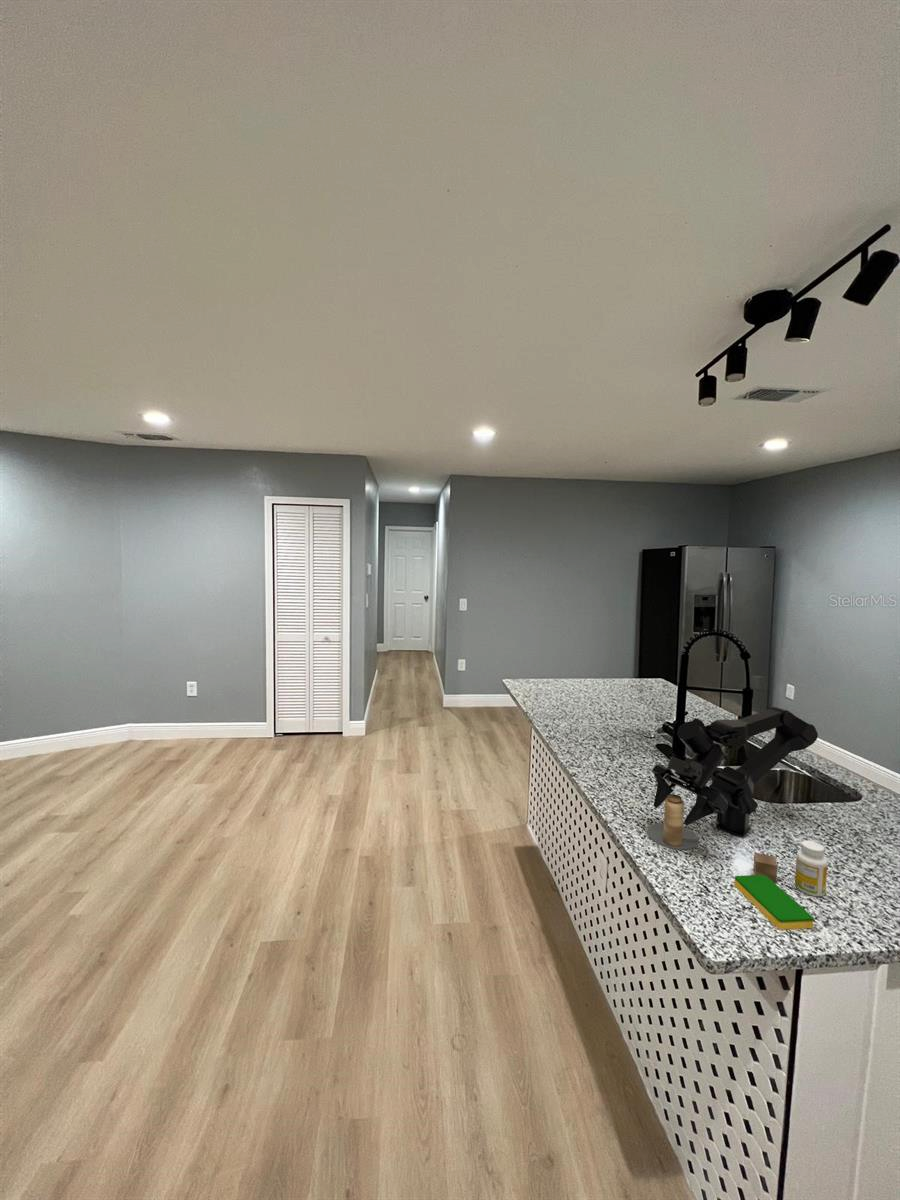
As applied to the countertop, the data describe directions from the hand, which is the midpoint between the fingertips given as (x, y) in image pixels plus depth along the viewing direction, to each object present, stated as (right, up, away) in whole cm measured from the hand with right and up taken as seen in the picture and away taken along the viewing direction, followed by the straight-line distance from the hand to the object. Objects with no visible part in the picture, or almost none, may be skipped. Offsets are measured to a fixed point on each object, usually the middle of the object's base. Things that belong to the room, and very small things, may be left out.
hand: (669, 815), depth 126 cm
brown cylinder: (+1, -7, +1) cm, 7 cm away
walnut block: (+16, -9, -11) cm, 22 cm away
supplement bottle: (+23, -9, -16) cm, 30 cm away
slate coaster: (+3, -7, +5) cm, 9 cm away
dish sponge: (+12, -10, -21) cm, 26 cm away
